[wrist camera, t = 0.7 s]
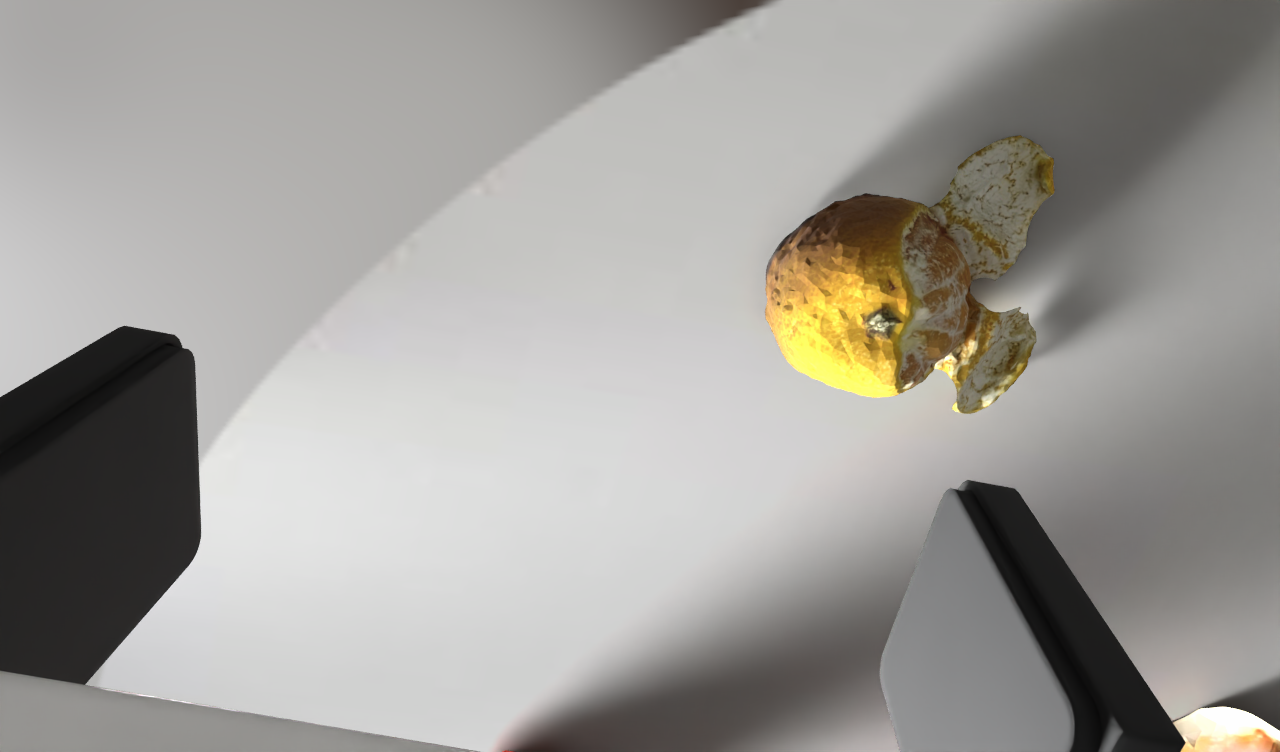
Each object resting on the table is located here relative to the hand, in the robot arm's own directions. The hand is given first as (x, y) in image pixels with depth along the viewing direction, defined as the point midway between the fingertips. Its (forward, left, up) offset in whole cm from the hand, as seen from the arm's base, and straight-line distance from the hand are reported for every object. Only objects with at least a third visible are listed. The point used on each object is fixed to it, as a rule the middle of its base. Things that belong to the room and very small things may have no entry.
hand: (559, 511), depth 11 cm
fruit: (+4, +8, -17) cm, 19 cm away
